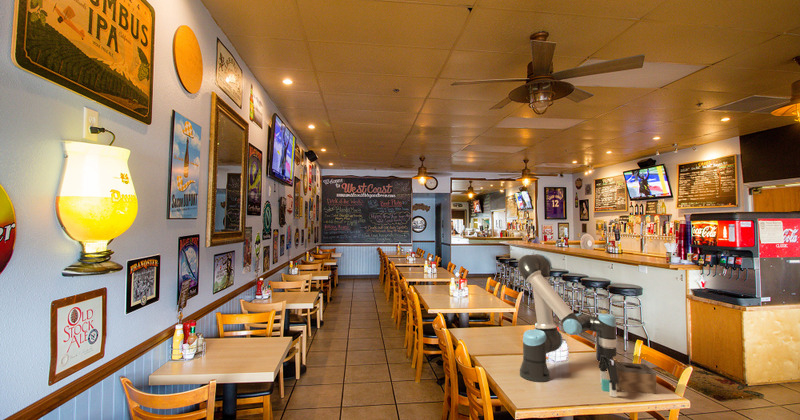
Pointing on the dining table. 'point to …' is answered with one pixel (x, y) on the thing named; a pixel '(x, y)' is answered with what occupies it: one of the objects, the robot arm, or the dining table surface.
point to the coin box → (635, 377)
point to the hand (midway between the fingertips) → (608, 390)
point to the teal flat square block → (605, 385)
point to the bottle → (598, 341)
